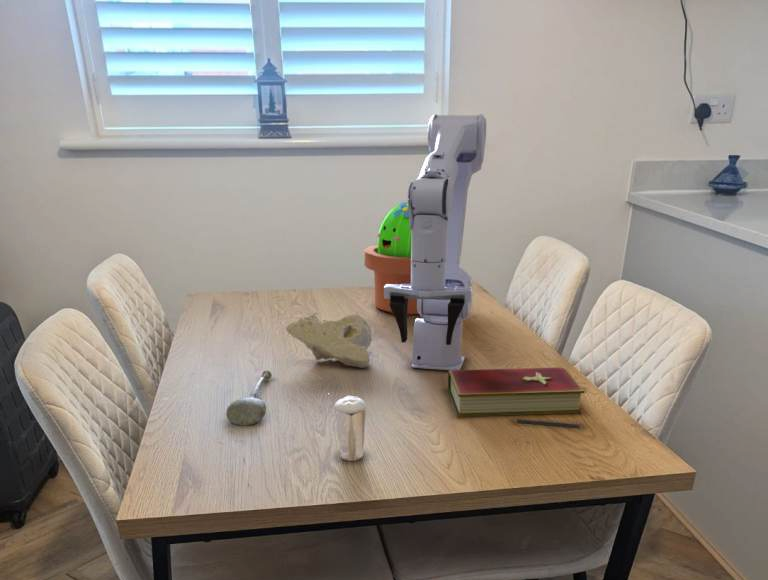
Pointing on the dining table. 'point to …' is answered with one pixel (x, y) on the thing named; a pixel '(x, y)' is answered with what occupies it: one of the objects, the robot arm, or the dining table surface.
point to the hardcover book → (514, 391)
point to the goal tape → (549, 423)
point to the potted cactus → (392, 256)
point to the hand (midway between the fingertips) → (426, 342)
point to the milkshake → (350, 426)
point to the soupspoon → (248, 406)
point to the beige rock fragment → (335, 338)
